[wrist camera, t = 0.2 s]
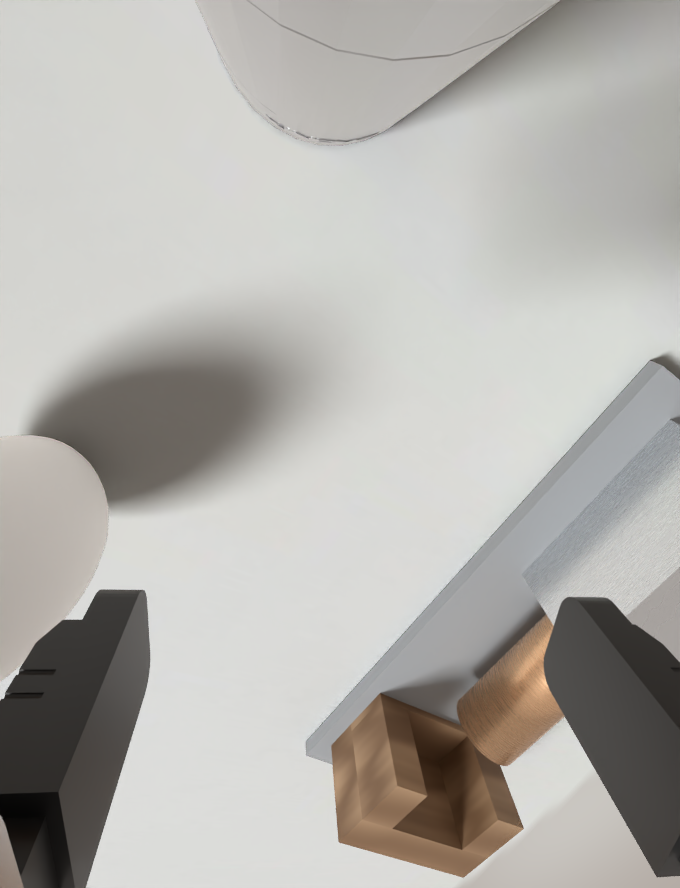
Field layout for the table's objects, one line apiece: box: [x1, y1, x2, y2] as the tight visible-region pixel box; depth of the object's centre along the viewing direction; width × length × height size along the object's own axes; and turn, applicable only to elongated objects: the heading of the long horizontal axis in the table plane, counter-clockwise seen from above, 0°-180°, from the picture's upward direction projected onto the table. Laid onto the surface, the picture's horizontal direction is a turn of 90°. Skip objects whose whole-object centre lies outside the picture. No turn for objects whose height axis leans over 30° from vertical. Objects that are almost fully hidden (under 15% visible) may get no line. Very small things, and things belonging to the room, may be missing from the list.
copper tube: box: [457, 614, 565, 766], centre depth 29 cm, size 18×4×4 cm, turn 146°
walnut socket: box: [331, 693, 524, 877], centre depth 34 cm, size 6×10×6 cm, turn 56°
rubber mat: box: [306, 360, 680, 764], centre depth 34 cm, size 34×12×1 cm, turn 146°
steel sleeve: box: [521, 420, 680, 662], centre depth 27 cm, size 12×7×7 cm, turn 146°
